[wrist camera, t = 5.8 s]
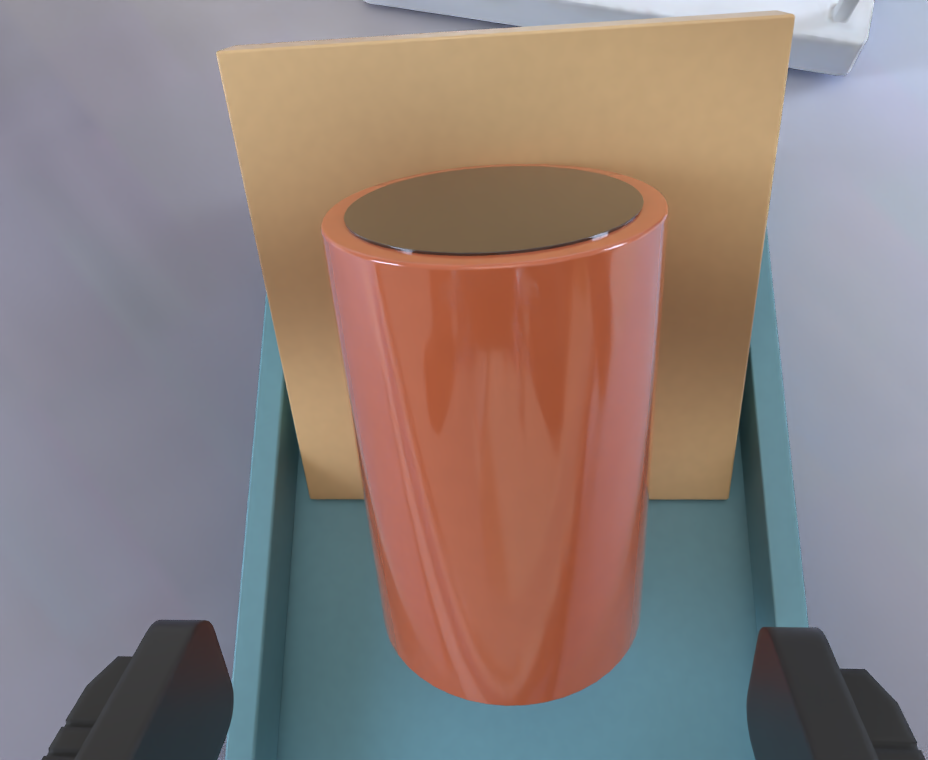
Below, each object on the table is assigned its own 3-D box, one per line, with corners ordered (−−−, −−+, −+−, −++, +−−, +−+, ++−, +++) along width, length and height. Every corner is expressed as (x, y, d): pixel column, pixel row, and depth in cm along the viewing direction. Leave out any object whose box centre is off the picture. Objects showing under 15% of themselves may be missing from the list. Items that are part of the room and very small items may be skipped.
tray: (824, 1120, 18) (870, 1209, 15) (235, 1072, 19) (189, 1144, 17) (734, 167, 25) (756, 120, 22) (303, 186, 26) (278, 144, 24)
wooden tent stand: (722, 502, 22) (850, 443, 12) (317, 502, 23) (167, 447, 14) (698, 205, 24) (791, -23, 15) (335, 220, 25) (218, 17, 16)
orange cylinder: (634, 684, 20) (745, 801, 9) (398, 678, 21) (229, 780, 10) (615, 284, 23) (680, 3, 12) (411, 290, 24) (295, 29, 13)
